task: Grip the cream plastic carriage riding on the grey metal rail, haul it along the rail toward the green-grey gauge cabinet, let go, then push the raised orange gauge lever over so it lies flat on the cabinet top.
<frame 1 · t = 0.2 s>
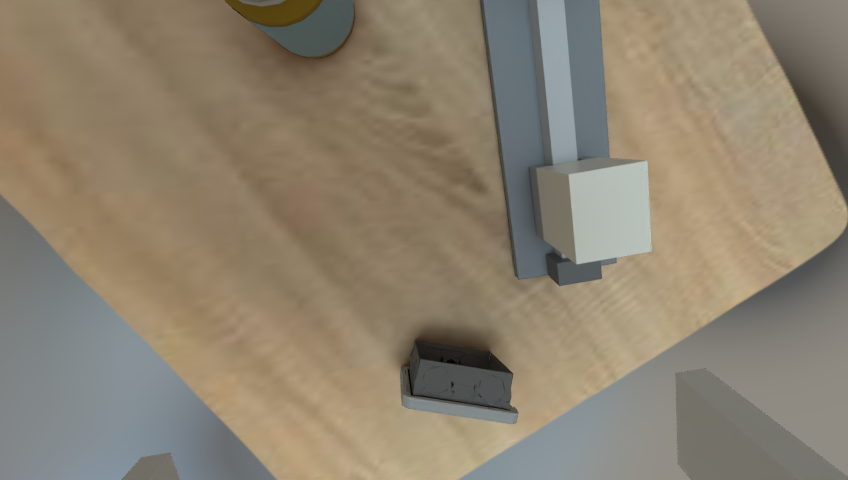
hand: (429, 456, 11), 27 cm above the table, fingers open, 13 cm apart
rail bench: (545, 89, 35), on the table
carriage: (582, 203, 31), point 6 cm above the table, slide at 0.0 cm
bottle: (313, 14, 33), on the table
electrical switch: (448, 354, 40), on the table
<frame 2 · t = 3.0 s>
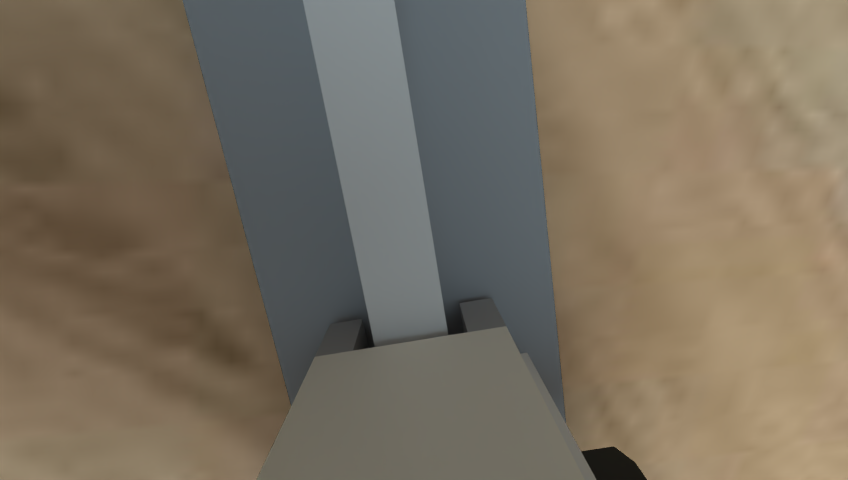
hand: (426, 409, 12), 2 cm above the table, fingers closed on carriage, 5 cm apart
rail bench: (378, 112, 13), on the table
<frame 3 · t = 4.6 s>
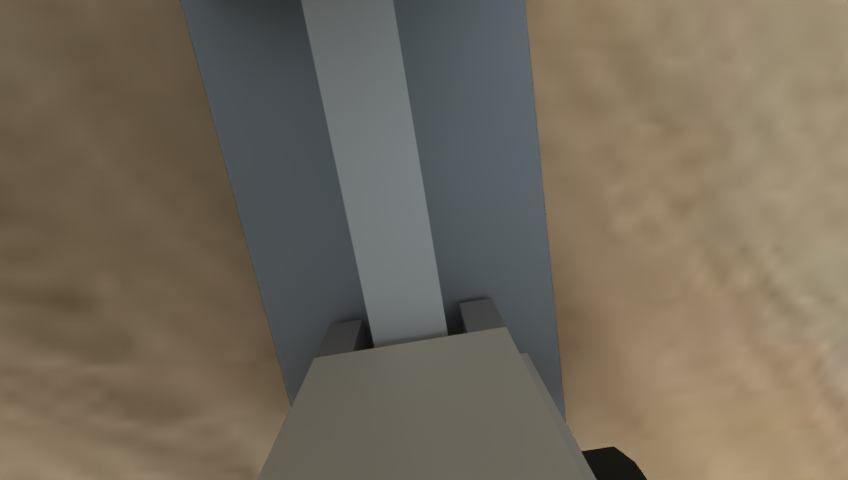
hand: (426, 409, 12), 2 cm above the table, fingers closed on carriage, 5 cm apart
rail bench: (412, 303, 14), on the table
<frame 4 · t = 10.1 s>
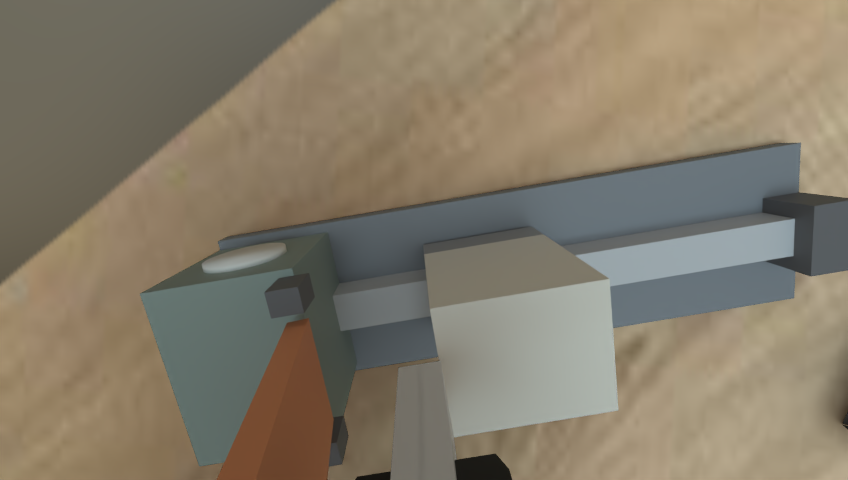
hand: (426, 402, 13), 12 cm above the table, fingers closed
rail bench: (511, 264, 24), on the table
carriage: (500, 310, 18), point 6 cm above the table, slide at 11.0 cm
gauge lever: (291, 456, 11), point 13 cm above the table, hinge at -7.0°, touching gripper
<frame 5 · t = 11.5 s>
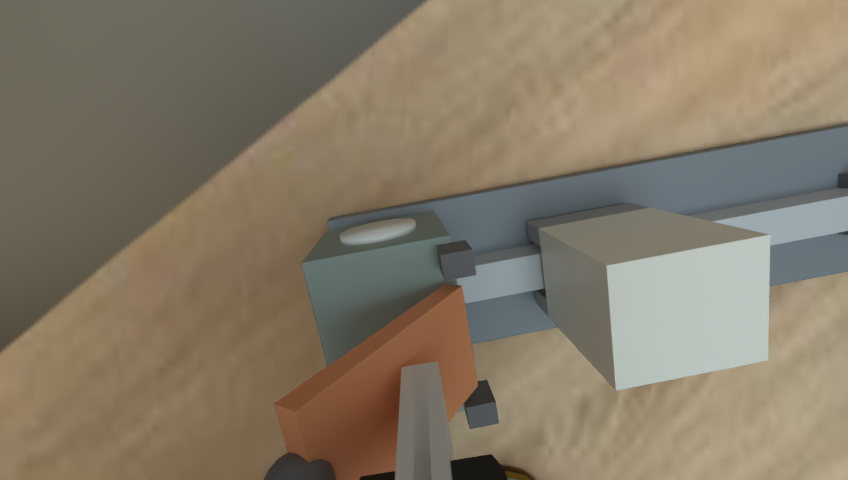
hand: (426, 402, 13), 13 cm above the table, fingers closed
rail bench: (601, 241, 25), on the table
carriage: (623, 277, 19), point 6 cm above the table, slide at 11.0 cm
gauge lever: (391, 402, 13), point 12 cm above the table, hinge at 38.8°, touching gripper
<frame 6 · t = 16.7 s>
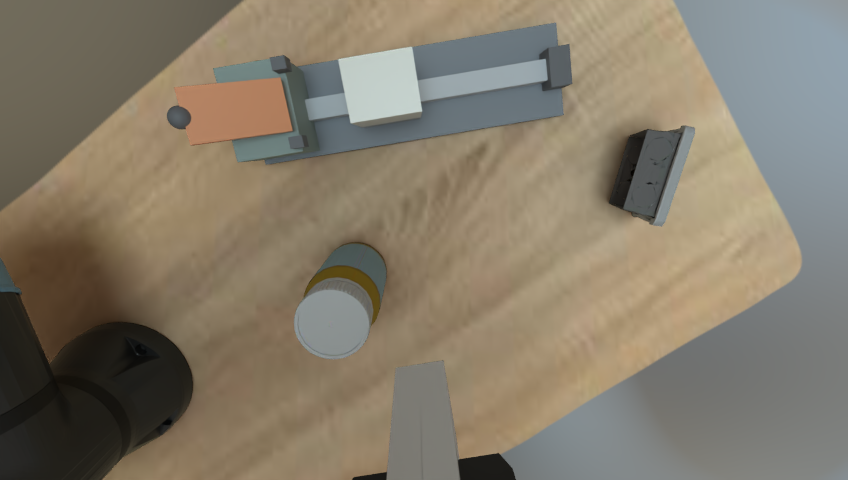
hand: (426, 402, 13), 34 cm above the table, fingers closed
rail bench: (406, 97, 43), on the table
carriage: (384, 92, 38), point 6 cm above the table, slide at 11.0 cm
gauge lever: (229, 111, 34), point 10 cm above the table, hinge at 69.1°
bottle: (357, 269, 48), on the table
electrical switch: (625, 174, 46), on the table
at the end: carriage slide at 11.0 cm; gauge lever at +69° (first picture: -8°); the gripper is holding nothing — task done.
